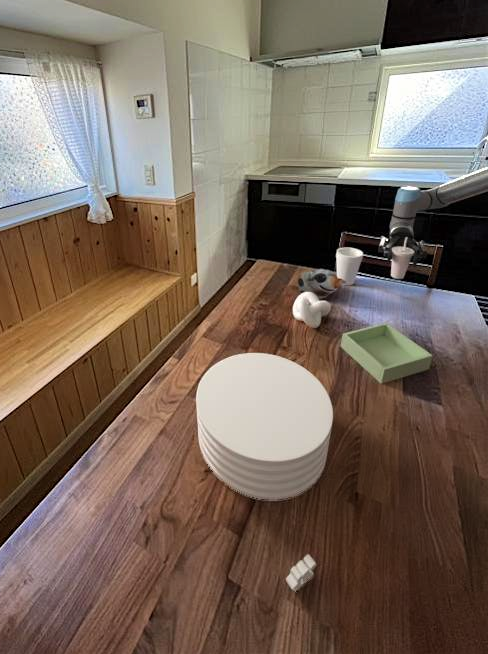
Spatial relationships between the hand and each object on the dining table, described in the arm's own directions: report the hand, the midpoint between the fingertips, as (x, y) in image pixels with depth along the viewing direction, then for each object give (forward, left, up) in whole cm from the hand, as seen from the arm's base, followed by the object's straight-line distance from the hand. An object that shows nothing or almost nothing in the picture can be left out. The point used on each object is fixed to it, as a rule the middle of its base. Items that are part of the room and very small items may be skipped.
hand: (402, 261), depth 106 cm
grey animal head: (+20, +14, -20) cm, 31 cm away
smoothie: (+4, -4, -8) cm, 10 cm away
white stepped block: (-52, +69, -20) cm, 89 cm away
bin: (-16, +19, -20) cm, 32 cm away
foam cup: (+24, -1, -20) cm, 31 cm away
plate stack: (-27, +63, -20) cm, 71 cm away
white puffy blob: (+6, +27, -20) cm, 34 cm away
